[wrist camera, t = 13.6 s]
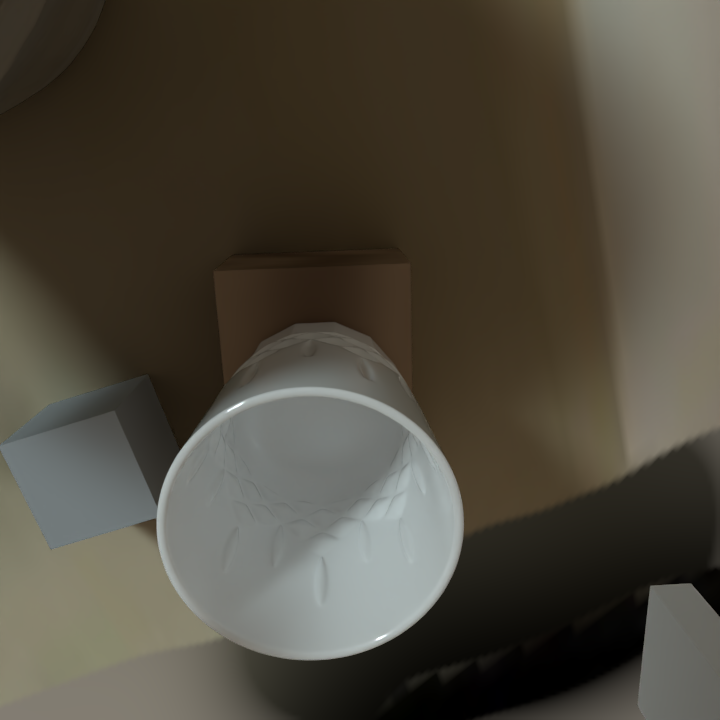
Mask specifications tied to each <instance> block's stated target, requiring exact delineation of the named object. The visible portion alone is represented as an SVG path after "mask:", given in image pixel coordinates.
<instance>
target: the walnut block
mask: <svg viewBox="0 0 720 720" xmlns="http://www.w3.org/2000/svg"><path fill="white" fill-rule="evenodd" d="M213 276H214V286H215V296H216V307H217V317H218V327H219V337H220V347H221V358H222V368H223V378H224V385H225V384H226V383H227V382H228V381H229V380H230V378H231V377H232V376H233V375H234V373H235V372H236V370H237V369H238V368H239V367H240V366H241V365H242V364H243V363H244V362H245V361H247V360H248V359H249V358H250V356H251V355H252V354H253V352H254V351H255V349H256V348H257V347H258V345H259V344H260V343H261V342H262V341H263V340H265V339H267V338H269V337H271V336H273V335H275V334H277V333H278V332H280V331H282V330H284V329H286V328H288V327H290V326H292V325H294V324H296V323H319V322H336V323H339V324H341V325H343V326H346V327H348V328H351V329H353V330H355V331H358V332H360V333H363V334H365V335H367V336H370V337H371V338H372V339H373V340H374V342H375V343H376V344H377V345H378V346H379V347H380V348H381V349H382V351H383V352H384V353H385V354H386V355H387V356H388V357H389V358H390V360H391V361H392V362H393V363H394V364H395V366H396V368H397V370H398V371H399V373H400V374H401V376H402V377H403V379H404V380H405V382H406V383H407V385H408V386H409V388H410V390H411V392H412V394H413V387H412V313H411V263H410V262H409V260H408V259H407V258H406V257H405V256H404V254H403V253H402V252H401V251H400V250H399V248H392V249H367V250H342V251H317V252H292V253H267V254H242V255H232V256H231V257H229V258H228V259H227V260H226V261H225V262H223V263H222V264H221V265H220V266H219V267H218V268H216V269H215V270H214V271H213Z"/></svg>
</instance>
